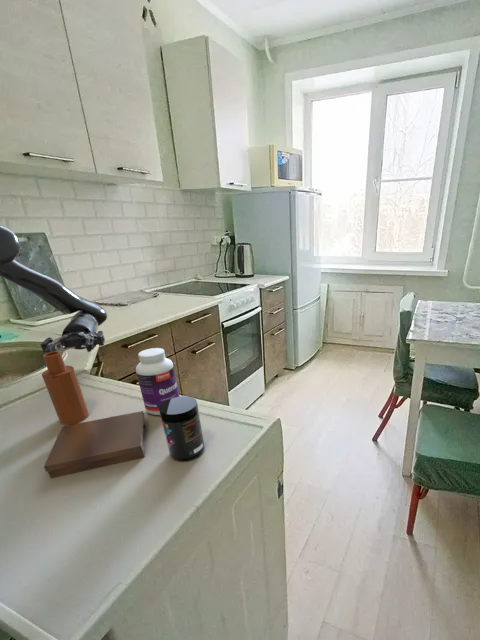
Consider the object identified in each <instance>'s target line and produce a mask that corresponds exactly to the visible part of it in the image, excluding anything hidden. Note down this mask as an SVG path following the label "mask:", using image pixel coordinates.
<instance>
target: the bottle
mask: <svg viewBox="0 0 480 640" xmlns="http://www.w3.org/2000/svg"><path fill="white" fill-rule="evenodd" d="M42 357H43V361H44V363H45V365H46V366H45V367H46V368H47V369H45V370H44V371H43V372H42V373H41V377H42V379H43V382H44V384H45V387H46V390H47V393H48V395H49V398H50V400H51V403H52V405H53V409H54V410H55V413H56V415H57V418H58V421H59V423H60V424H61V425H63V426H67V425H72V424H77V423H82V422H84V420H86V419H88V417H89V415H90V413H89V409H88V407H87V403H86V401H85V397H84V395H83V391H82V388H81V385H80V382H79V380H78V377H77V373H76V369H75V368H74V367H73V366H72V365H66V364H65V361H64V358H63V355H62V351H54V352H49V353H46V354H44V353H43V355H42Z"/></svg>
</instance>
